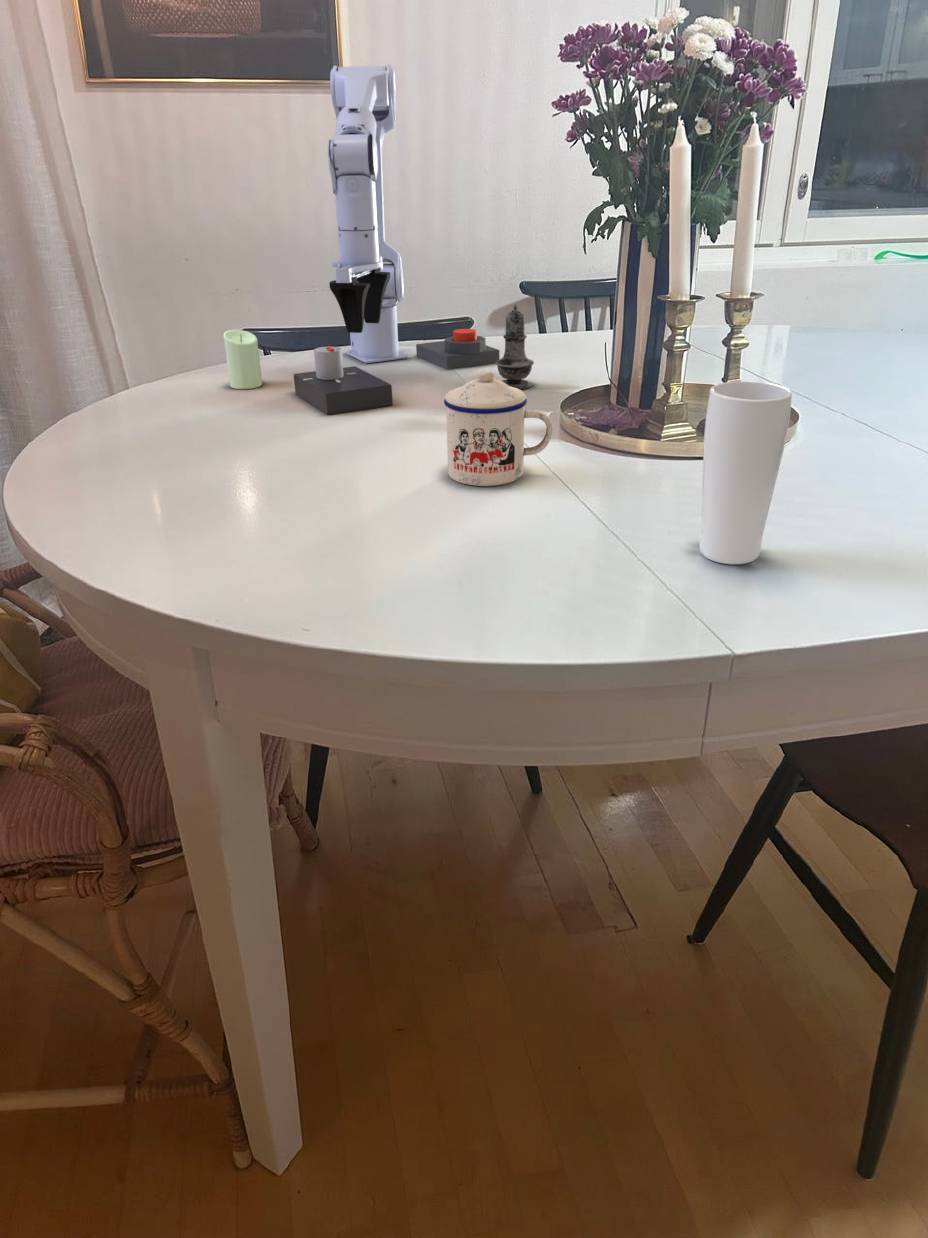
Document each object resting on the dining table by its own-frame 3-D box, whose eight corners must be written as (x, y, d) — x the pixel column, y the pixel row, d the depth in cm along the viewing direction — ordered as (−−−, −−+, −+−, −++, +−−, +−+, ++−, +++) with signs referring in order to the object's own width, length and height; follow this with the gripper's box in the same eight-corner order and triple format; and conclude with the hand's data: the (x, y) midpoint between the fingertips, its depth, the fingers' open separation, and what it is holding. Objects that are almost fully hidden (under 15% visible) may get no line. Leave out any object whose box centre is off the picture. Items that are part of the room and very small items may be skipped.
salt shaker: (534, 381, 142) (535, 301, 136) (532, 390, 137) (534, 307, 131) (496, 380, 143) (496, 301, 137) (494, 389, 137) (494, 307, 132)
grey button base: (416, 356, 159) (415, 333, 157) (466, 350, 163) (466, 327, 161) (448, 370, 150) (448, 345, 148) (500, 363, 154) (501, 339, 152)
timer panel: (294, 393, 137) (292, 372, 136) (356, 385, 141) (355, 364, 140) (326, 415, 126) (324, 392, 125) (392, 405, 130) (391, 383, 129)
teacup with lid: (443, 487, 99) (440, 381, 94) (447, 461, 107) (445, 362, 102) (552, 488, 99) (556, 380, 93) (549, 461, 107) (552, 361, 101)
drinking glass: (681, 542, 85) (698, 382, 78) (751, 538, 86) (774, 379, 79) (704, 572, 79) (724, 401, 72) (779, 568, 80) (807, 398, 73)
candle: (269, 384, 142) (262, 331, 139) (242, 391, 139) (235, 336, 135) (250, 380, 145) (243, 327, 142) (223, 386, 142) (216, 332, 138)
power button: (449, 340, 153) (449, 330, 153) (469, 338, 155) (469, 327, 154) (460, 344, 150) (460, 333, 149) (481, 342, 152) (481, 331, 151)
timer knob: (312, 375, 134) (309, 346, 132) (337, 372, 136) (335, 343, 134) (321, 381, 131) (319, 350, 129) (347, 377, 133) (345, 347, 131)
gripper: (349, 224, 136) (355, 318, 143) (311, 233, 124) (320, 335, 130) (393, 224, 135) (398, 319, 141) (360, 234, 122) (366, 337, 129)
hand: (364, 327), depth 136 cm, fingers open, 7 cm apart
